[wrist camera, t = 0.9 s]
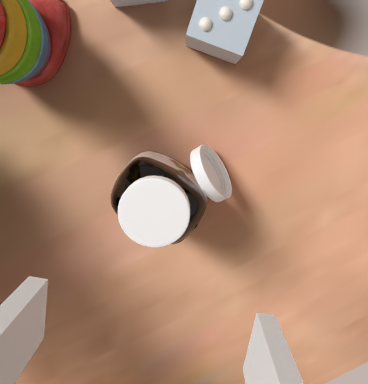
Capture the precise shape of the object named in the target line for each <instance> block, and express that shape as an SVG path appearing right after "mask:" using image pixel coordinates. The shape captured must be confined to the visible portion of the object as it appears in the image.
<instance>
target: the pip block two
mask: <svg viewBox="0 0 368 384" xmlns="http://www.w3.org/2000/svg"><path fill="white" fill-rule="evenodd" d="M110 1H111V2H112V4H113V5H114V6H115V7H123V6H131V5H140V4H148V3H157V2H165V1H168V0H110Z"/></svg>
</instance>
